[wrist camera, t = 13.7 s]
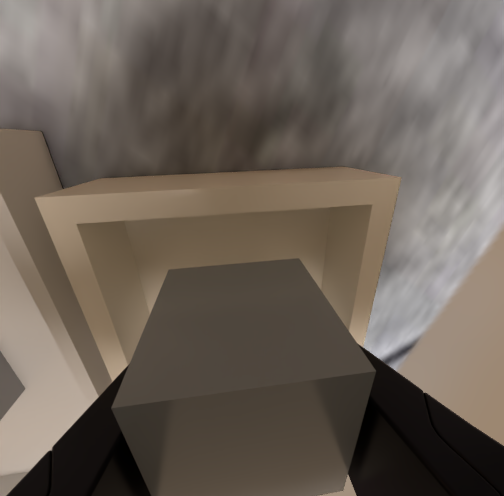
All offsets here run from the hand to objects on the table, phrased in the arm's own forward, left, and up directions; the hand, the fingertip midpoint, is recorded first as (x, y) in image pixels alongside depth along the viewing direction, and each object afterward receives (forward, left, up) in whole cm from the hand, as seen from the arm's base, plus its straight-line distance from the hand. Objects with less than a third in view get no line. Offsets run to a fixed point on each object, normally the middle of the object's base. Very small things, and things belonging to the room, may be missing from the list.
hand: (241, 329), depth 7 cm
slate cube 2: (0, 0, -1) cm, 1 cm away
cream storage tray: (0, -2, -5) cm, 6 cm away
